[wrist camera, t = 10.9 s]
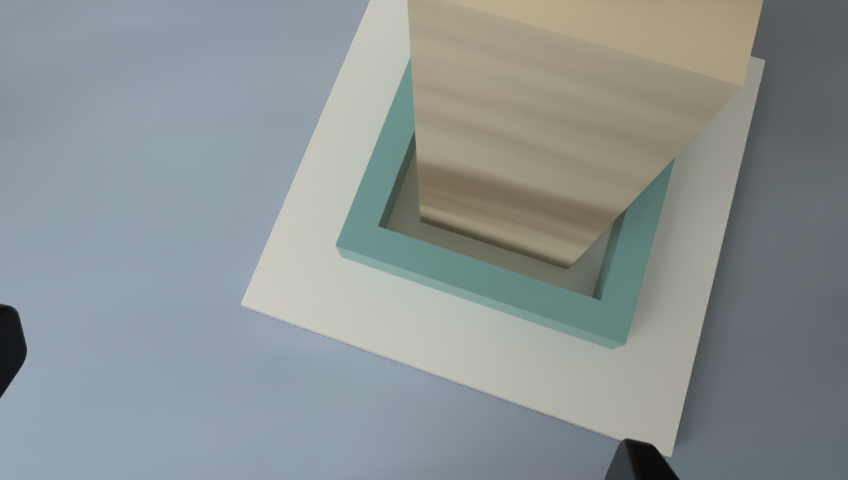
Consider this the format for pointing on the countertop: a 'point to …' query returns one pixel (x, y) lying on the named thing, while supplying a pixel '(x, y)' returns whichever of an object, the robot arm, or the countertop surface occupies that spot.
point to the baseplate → (498, 262)
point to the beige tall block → (562, 109)
